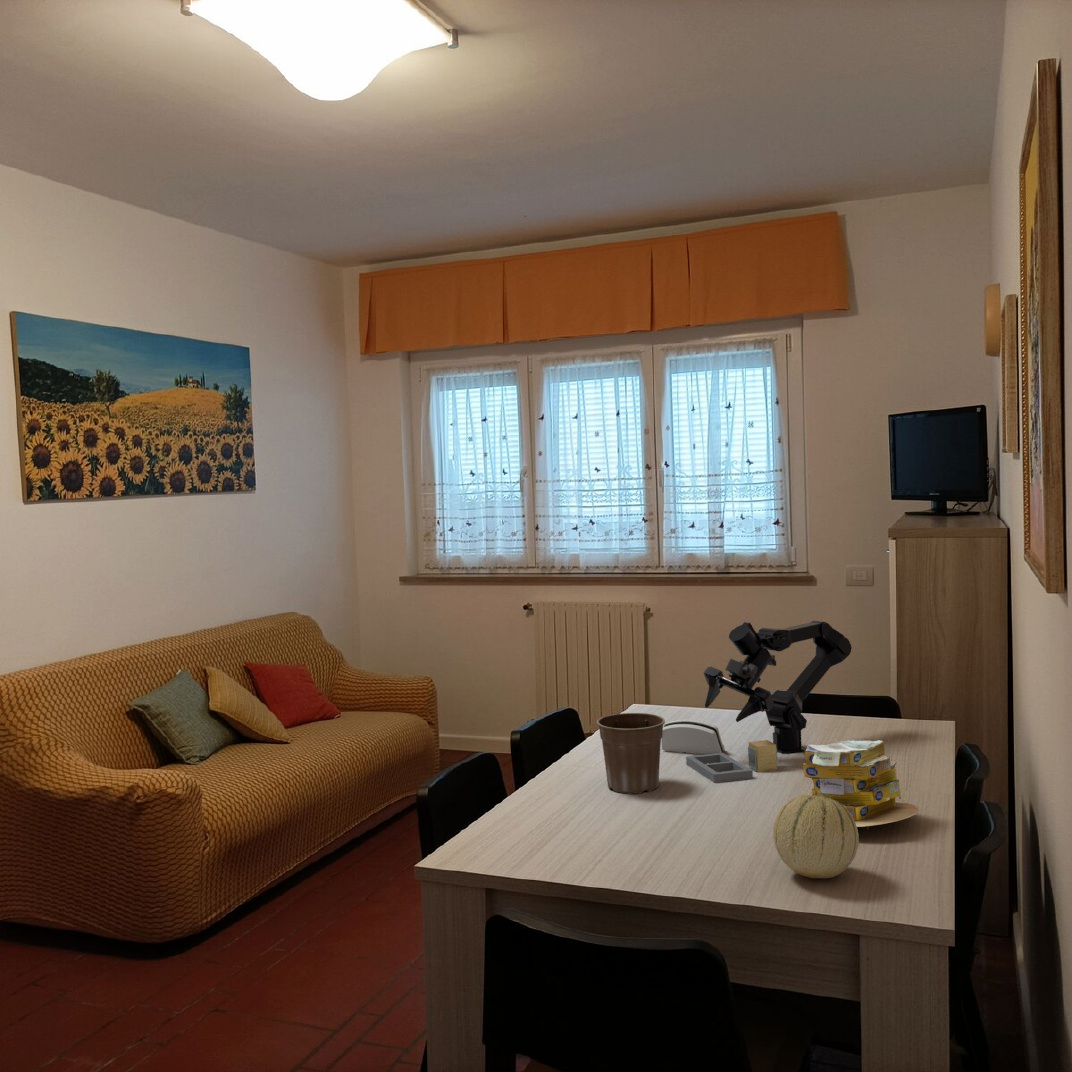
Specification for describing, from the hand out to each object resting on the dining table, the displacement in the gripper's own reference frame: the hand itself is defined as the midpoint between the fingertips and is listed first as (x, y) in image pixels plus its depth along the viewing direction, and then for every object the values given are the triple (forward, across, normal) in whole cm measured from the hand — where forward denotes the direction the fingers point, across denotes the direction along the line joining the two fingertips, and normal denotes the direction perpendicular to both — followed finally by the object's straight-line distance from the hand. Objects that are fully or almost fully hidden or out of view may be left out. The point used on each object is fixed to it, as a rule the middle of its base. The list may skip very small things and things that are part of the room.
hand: (721, 713), depth 259 cm
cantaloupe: (+38, +53, -38) cm, 76 cm away
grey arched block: (+6, -10, +18) cm, 22 cm away
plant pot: (+30, -4, -7) cm, 31 cm away
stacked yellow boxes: (+16, +47, -15) cm, 52 cm away
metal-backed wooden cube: (+5, +13, +10) cm, 17 cm away
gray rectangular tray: (+12, +5, +6) cm, 14 cm away
